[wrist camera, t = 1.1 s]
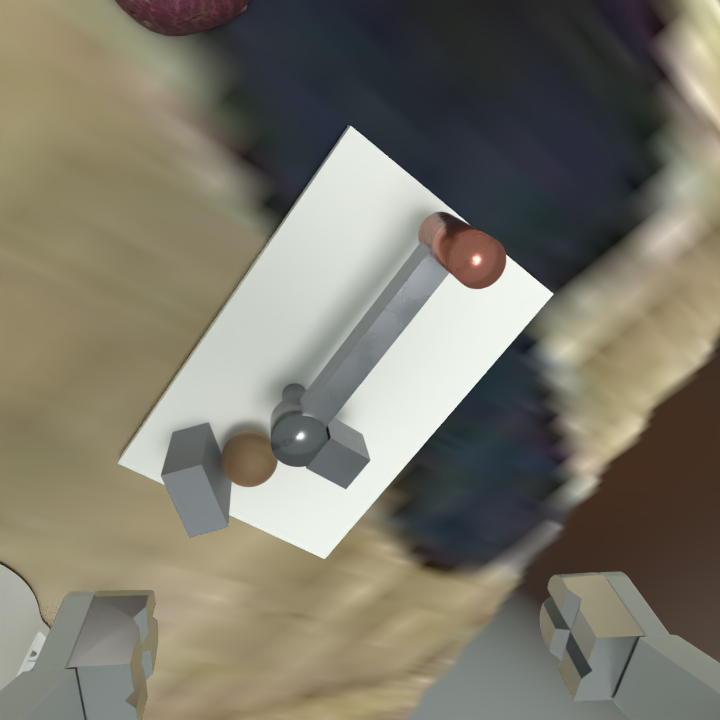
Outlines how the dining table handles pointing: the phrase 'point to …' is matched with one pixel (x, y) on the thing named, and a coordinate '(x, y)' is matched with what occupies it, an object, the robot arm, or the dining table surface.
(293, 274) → the board
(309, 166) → the dining table surface
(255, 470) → the brown ball
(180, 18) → the vegetable
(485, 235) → the lever
